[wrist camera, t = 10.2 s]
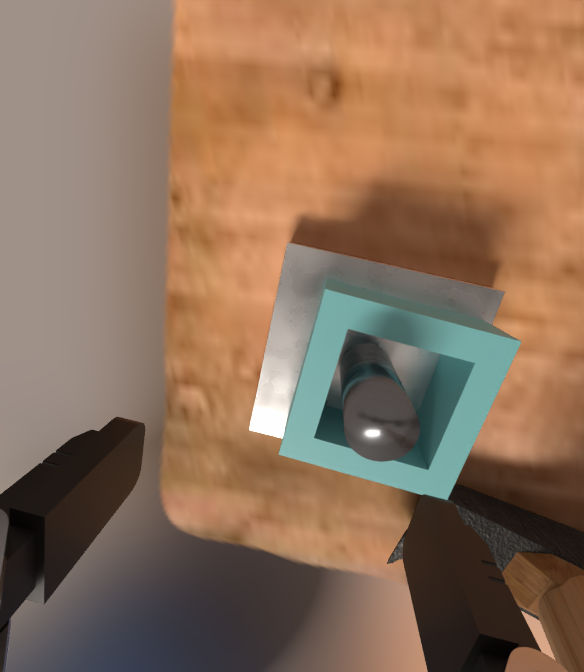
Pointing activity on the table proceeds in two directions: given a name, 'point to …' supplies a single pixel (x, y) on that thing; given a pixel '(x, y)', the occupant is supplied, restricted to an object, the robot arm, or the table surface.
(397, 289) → the stand
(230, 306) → the table surface
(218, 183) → the table surface
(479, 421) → the collar
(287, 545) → the table surface
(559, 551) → the hammer
